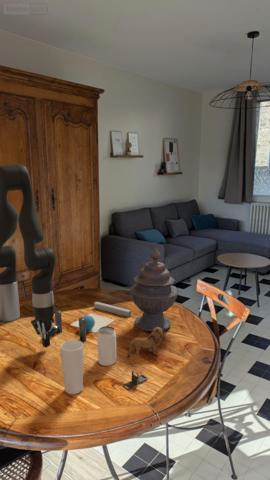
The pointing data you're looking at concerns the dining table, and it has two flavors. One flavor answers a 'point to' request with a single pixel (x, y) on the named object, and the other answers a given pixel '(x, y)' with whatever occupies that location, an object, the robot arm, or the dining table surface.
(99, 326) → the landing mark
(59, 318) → the post left
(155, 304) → the decorative urn
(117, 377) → the dining table surface
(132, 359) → the dining table surface
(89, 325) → the ball
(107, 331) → the can
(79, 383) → the drinking glass
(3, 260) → the robot arm
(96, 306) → the wall
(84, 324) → the post right
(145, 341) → the lion figurine
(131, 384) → the strap clip
